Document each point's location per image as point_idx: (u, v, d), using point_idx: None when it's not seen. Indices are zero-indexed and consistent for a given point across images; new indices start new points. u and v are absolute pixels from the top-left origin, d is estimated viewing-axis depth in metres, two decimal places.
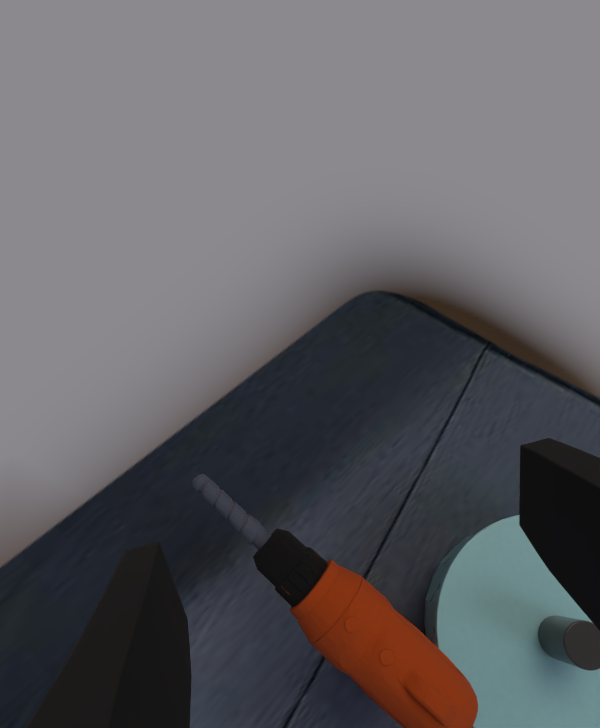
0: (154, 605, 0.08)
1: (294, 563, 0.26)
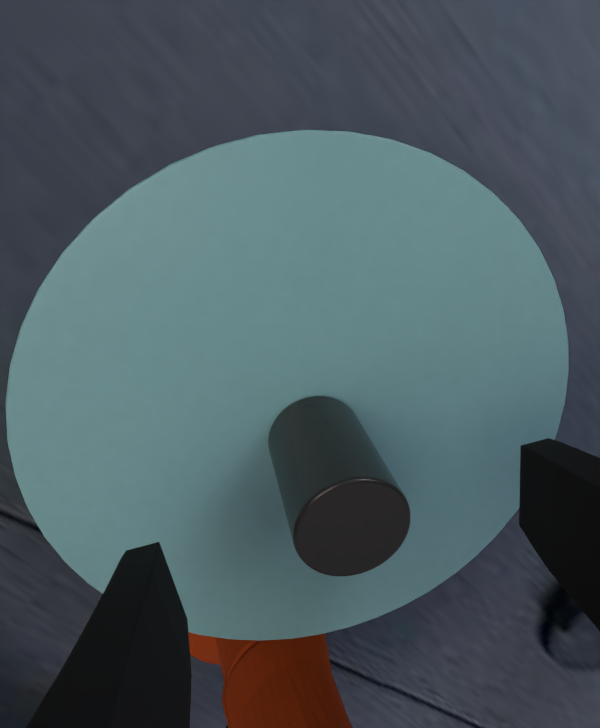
0: (154, 605, 0.08)
1: None
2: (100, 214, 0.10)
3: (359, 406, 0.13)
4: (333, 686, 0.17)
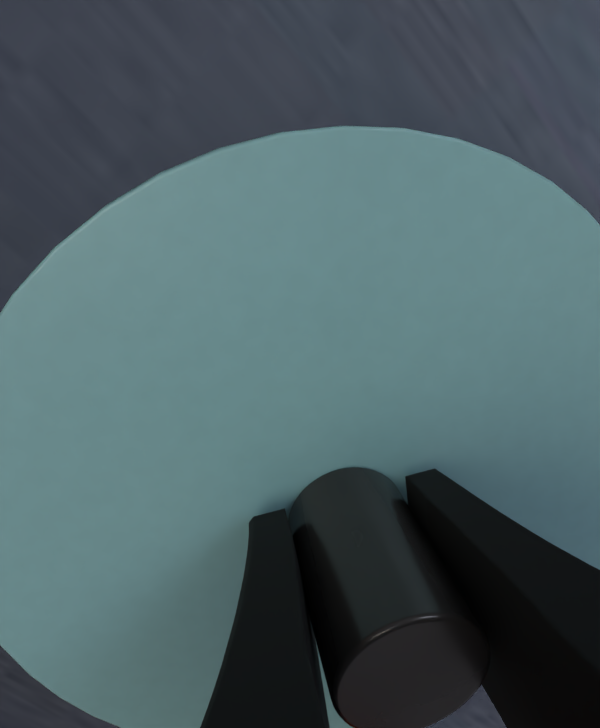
0: (297, 565, 0.08)
1: None
2: (64, 242, 0.08)
3: (403, 478, 0.11)
4: None
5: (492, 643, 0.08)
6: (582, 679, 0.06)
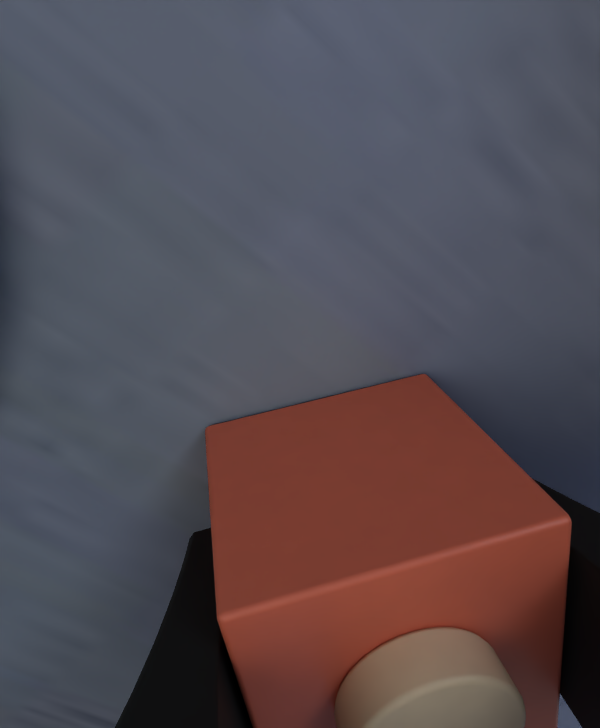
0: None
1: None
2: None
3: None
4: None
5: None
6: None
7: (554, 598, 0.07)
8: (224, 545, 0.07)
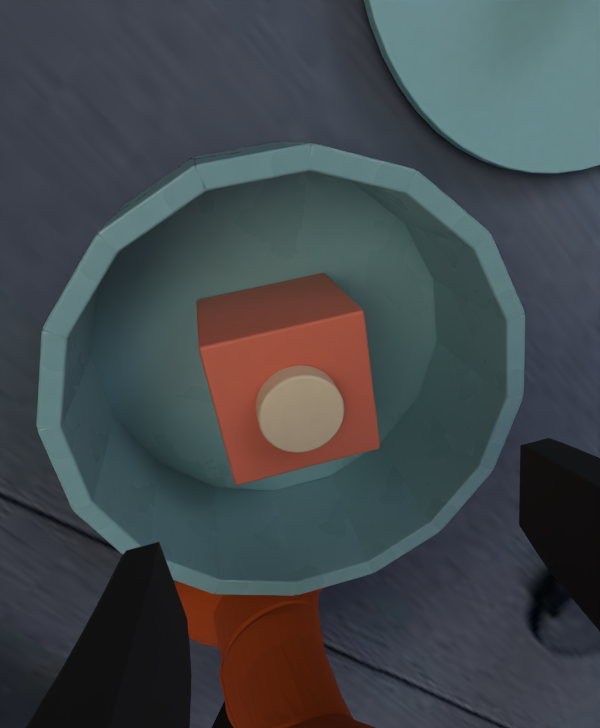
0: (154, 605, 0.08)
1: None
2: None
3: None
4: (326, 662, 0.18)
5: None
6: None
7: (361, 356, 0.15)
8: (203, 331, 0.15)
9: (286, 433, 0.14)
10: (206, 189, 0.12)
